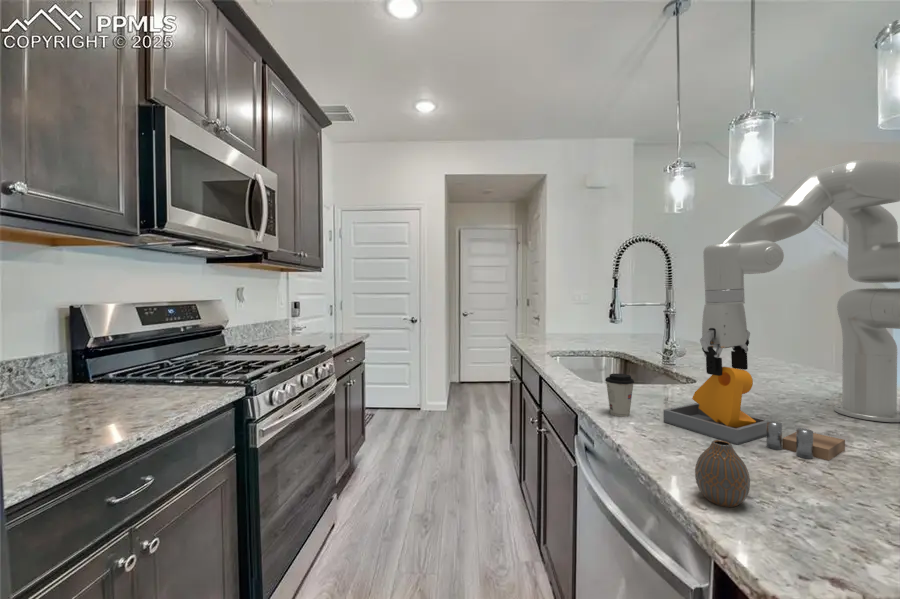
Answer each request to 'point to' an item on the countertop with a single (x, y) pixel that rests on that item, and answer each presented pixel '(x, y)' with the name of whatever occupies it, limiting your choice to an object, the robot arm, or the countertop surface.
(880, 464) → the countertop surface
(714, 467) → the vase
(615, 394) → the coffee cup
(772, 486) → the countertop surface
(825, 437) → the tan slab
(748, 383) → the bracket
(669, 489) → the countertop surface
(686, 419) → the tray
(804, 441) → the peg
